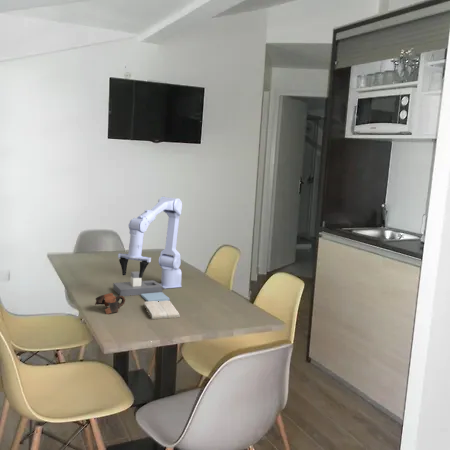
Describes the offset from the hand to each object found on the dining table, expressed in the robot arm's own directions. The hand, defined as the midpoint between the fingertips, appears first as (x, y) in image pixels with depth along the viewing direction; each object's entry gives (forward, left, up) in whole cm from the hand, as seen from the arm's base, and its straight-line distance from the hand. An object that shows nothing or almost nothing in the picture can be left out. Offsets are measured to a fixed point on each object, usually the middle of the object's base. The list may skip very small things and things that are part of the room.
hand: (132, 276), depth 216 cm
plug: (-6, -12, -11) cm, 17 cm away
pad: (-11, +1, -11) cm, 15 cm away
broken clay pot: (+12, +11, -11) cm, 20 cm away
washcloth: (-7, +19, -11) cm, 23 cm away
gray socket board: (-7, -12, -11) cm, 18 cm away
